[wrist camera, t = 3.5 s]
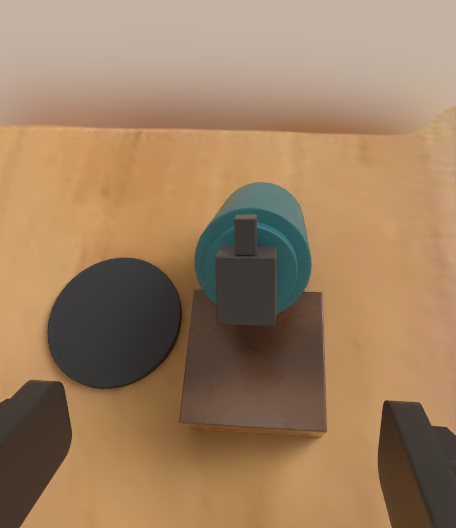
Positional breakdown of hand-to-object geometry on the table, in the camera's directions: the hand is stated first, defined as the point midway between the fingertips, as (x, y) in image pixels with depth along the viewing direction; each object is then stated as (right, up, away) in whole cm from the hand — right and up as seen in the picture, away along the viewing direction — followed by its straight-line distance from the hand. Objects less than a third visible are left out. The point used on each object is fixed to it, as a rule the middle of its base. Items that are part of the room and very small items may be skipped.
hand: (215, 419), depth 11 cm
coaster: (-8, 0, +20) cm, 21 cm away
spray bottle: (+3, +2, +20) cm, 20 cm away
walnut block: (+2, -3, +17) cm, 18 cm away
